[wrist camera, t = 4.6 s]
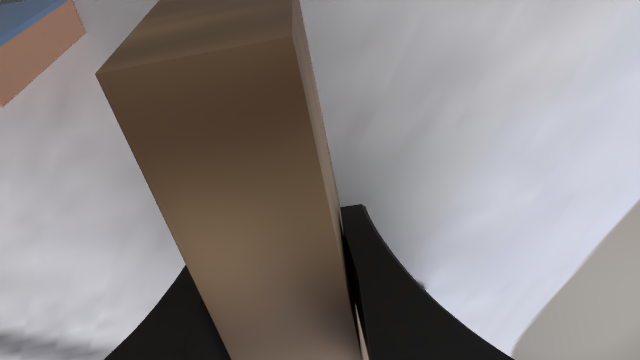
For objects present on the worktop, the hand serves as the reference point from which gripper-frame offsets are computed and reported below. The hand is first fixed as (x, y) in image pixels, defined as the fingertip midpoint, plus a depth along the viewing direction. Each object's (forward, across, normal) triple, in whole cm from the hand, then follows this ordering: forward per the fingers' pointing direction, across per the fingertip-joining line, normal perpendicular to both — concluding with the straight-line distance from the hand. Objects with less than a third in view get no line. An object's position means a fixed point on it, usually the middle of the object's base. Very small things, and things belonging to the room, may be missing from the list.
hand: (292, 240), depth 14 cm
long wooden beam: (+2, 0, 0) cm, 2 cm away
